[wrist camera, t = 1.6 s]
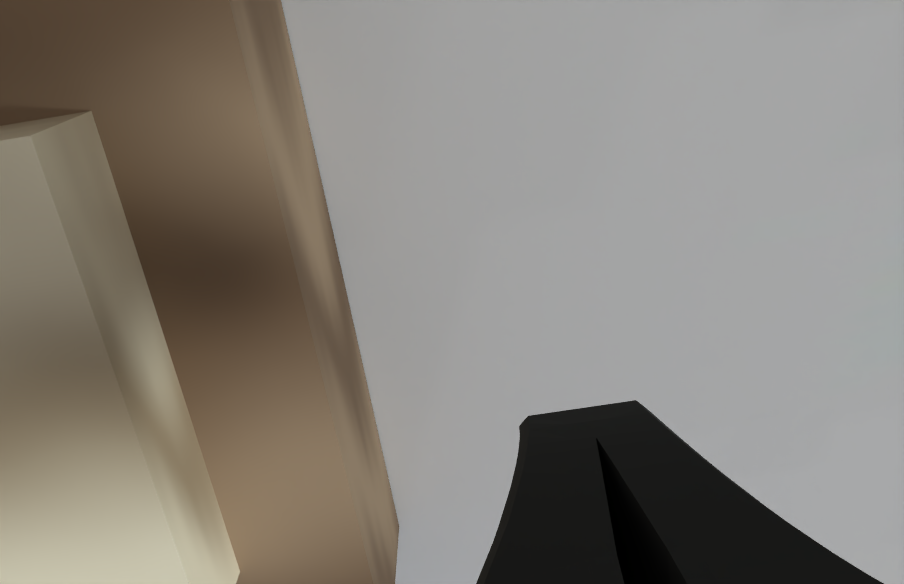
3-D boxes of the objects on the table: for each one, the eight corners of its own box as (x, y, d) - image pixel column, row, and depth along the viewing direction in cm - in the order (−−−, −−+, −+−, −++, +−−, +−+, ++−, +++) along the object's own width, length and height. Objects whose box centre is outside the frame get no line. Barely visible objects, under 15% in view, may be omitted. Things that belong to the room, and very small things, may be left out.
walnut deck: (398, 526, 20) (390, 651, 17) (15, 580, 21) (-78, 713, 17) (262, -80, 15) (205, -95, 11) (-245, 9, 16) (-457, 23, 12)
